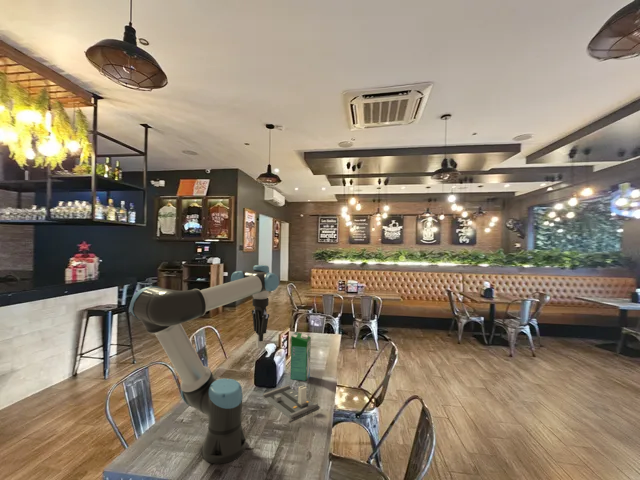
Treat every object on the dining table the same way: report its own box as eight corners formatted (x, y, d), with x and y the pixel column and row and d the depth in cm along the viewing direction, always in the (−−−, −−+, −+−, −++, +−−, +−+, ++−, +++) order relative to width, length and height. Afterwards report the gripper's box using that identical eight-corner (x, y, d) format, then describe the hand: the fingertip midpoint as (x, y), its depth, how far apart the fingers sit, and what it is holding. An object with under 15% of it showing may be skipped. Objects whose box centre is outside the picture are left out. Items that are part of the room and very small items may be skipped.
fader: (302, 408, 132) (302, 389, 132) (296, 404, 136) (296, 386, 136) (308, 405, 135) (308, 387, 135) (302, 401, 138) (302, 383, 138)
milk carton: (306, 383, 161) (307, 337, 161) (290, 381, 162) (291, 336, 163) (310, 376, 169) (310, 332, 170) (294, 374, 171) (295, 331, 172)
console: (290, 422, 125) (290, 414, 125) (261, 399, 143) (261, 392, 143) (318, 409, 135) (319, 401, 135) (288, 389, 153) (289, 382, 154)
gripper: (274, 298, 138) (273, 349, 138) (260, 294, 148) (259, 342, 147) (260, 300, 133) (259, 353, 133) (247, 296, 143) (245, 345, 143)
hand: (259, 347), depth 140 cm, fingers closed
